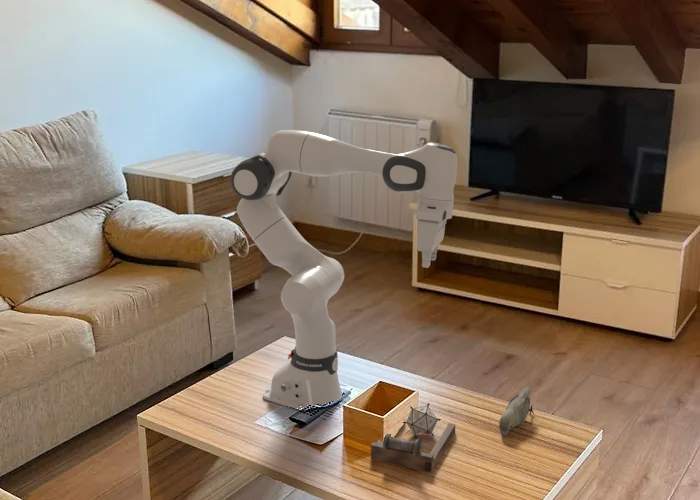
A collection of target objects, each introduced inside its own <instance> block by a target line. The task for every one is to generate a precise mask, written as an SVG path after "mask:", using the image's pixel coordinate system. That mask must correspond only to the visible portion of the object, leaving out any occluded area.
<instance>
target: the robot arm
mask: <svg viewBox="0 0 700 500" xmlns="http://www.w3.org/2000/svg"><path fill="white" fill-rule="evenodd" d="M293 173H297V174H302V175H307V176H310V177H311V176H312V177H335V176H338V175H344V174H352V173H353V174H354V173H362V174H363V173H364V174H370V175H375V176H380V177H382V180H383V181H384V184H385V185H386V186H387V188H389V189H390V190H392V191H394V192H398V193H408V192H417V193H418V195H417V196H418V197H417V207H416V214H415V219H416V220H418V221H417V230H416V231H417V234H416V235H417V236H416V237H417V240H416V246H417V251H419V252H421V261H422V262H421V267H422V268H424V269H425V268H426V269H428V268H430V266H431V261H432V262H433V261H436V259H437V252H438V250H439V245H440V243H442V242H443V240H444V238H445V231H446V224H447V220H451V219H452V218H453V210H454V203H455V202H454V201H455V196H454V195H455V194H454V188H455V185H456V183H457V175H458V155H457V152H456V151H455V149H454V148H452V147H451V146H449V145H446V144H443V143H440V142H439V143H438V142H432V141H431V142H428V143H426V144H424V145H423V146H421V147H418V148H416V149H413V150H410V151H405V152H402V153H393V152H388V151H387V152H386V151H381V150H380V151H379V150H375V149H368V148H363V147H361V146H360V147H359V146H357V145H353V144H351V143H348V142H345V141H342V140H339V139H337V138H335V137H332V136H328V135H325V134H322V133H321V134H320V133H317V132H311V131H308V130H297V129H295V130H294V129H281V130H278V131H275V132H274V133H273V134H272V135H271V136H270V138H269V140H268V143H267V149H266V151H265V152H260V153H257V154H254V155H252V156H251V157H249V158H246V159H244V160H241V162H240V163H238V164H237V165H236V166H235V167H234V168H233V169H232V172H231V175H230V184H231V187H232V190H233V192H234V193H235V194H236V195H237V196H238V197H239V198H240V200H239V202H238V204H237V205H236V214H237V216H238V218H239V220H240V222H241V225H242V226H243V228H244V229H245V231H246V232H247V234H248V235H249V237H250V238H251V239H252V241H253V242H254V243H255V245H256V246H257V247H258V249H259V250H260V251H261V253H262V254H263V255H264V256H265V258H266V259H267V261H268V263H271V264H272V265H274V266H276V267H280V268H282V269H283V270H285V271H286V272H287V273H289V274H290V275H291V277H289V278H288V280H287V281H286V282H285V284H284V286H283V287H282V289H281V292H280V300H281V303H282V306H283V308H284V309H285V310H286V311H287V312H288V313H289V314H290V316H291V319H292V322H293V326H294V327H293V328H294V333H295V334H294V336H295V337H294V338H295V346H294V348H293V349H292V350H291V351H290V353H289V354H288V355H287V360H289V361H287V363H285V364H284V365H282V366H280V368H278V369H277V370H276V371H275V373H274V374H273V375H272V378H271V383H270V384H268V386H267V387H266V388H265V389H264V391H263V399H264V400H266V401H269V402H272V403H274V404H278V405H281V406H284V407H287V406H288V407H287V408H290V407H293V408H298V409H301V408H303V407H305V406H307V405H316V404H325V403H329V402H332V401H336V400H337V399H339V398H340V397H341V396H342V394H343V392H342V388H341V385H340V381H339V374H338V368H339V367H338V366H339V358H338V349H337V346H336V345H337V343H336V342H337V341H336V324H335V321H333V319H331V317H330V315H329V310H328V303H329V300H330V298H331V297H333V296H334V295H336V294H337V292H338V291H339V290H340V289H341V286H342V285H343V282H344V279H345V271H344V268H343V266H342V264H341V263H340V262H339V261H338V260H336V259H335V258H332V257H329V256H327V255H324V254H323V253H322V252H320V251H319V250H318V249H317V248H315V247H314V246H313V245H311V243H309V242H308V241H307V240H306V239H305V238H304V237H303V236H302V234H301V233H300V232H299V231H298V229H296V227H295V226H294V225H293V223H292V222H291V220H289V218H288V217H287V215H286V214H285V213H284V212H283V210H282V209H281V208H280V206H279V205H278V203H277V199H276V198H277V196H280V195H281V194H282V193H283V191H284V189H285V187H286V186H287V185H288V182H289V181H290V180H291V177H292V175H293ZM290 359H291V360H290ZM300 406H302V407H300ZM293 408H292V409H293Z"/></svg>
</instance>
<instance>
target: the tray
mask: <svg viewBox="0 0 700 500" xmlns="http://www.w3.org/2000/svg"><path fill="white" fill-rule="evenodd" d="M455 434H456V424H455V423H448V424H447V425H446V427H445V429H444V430H443V432H442V433H441V434H440V436H439V438H438V440H437V441H436V443H435V444H434V446H433V448H432V449H431V451H430V452H429V453H428V452H423V451H421V450H422V448H423V439H430V435H431V434H424V433H419V434H418V436H417V437H418V439H417V438H416V439H415V441H413V440H407V439H404V438H403V439H401V438H396V437H395V438H393V437H391V434H388V433H387V434H386V435H385V437H384V441H380V440H379V439H378V440H377V442H374V441H373V442H372V443H371V444H370V460H372V461H377V462H380V463H386V464H391V465H396V466H399V467H404V468H408V469H413V470H417V471H418V470H419V471H424V472H428V473H433V471H434V469H435V468H436V466H437V464H438V462H439V460H440V459H441V458H442V456H443V454H444V453H445V451H446V450H447V447H448V446H449V444H450V443H451V441H452V439H453V438H454V436H455Z"/></svg>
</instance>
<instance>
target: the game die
mask: <svg viewBox="0 0 700 500" xmlns="http://www.w3.org/2000/svg"><path fill="white" fill-rule="evenodd" d="M429 406H430V402H427V404H426V405H424V406H420V407H415V408H413V406H411V405H410V406H409V407H410V410H411V411H410V412H409V415H408V417H407V419H406V420H405V422H403V423H404V425H405V424H406V425H407V426H408V428H409V429H410V431H411V432H412V433H413V435H414V438H413V439H414V440H417V437H418V434H419V433H424V434H429V435H431V436H433V437H434V433H433V432H434V429H435V427H436V425H437V423H438V422H440V421H441V420H442V419H441V418H437V416H436V415H435V413H434V412H433V411H432V410H431V408H430V407H429Z"/></svg>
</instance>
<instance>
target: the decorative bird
mask: <svg viewBox="0 0 700 500" xmlns="http://www.w3.org/2000/svg"><path fill="white" fill-rule="evenodd" d="M532 392H533V391H532V389H531V388H530V387H528V386H527V387H524V388H523V389H522V390H521V391H520V392H519V394H517V395H516V396H514V397H513V398H512V399H510V401H509V402H508V404H507V405H506V408H505V411H504V412H503V413H502V414H501V416H500V419H499V422H498V426H499V431H500V432H499V433H500V435H501V437H502V438H505V437H506V436H507V435H508V434H509V432H510V431H511V429H513V428H515V427H518V426H520V425H522V424H523V423H524V422H525V421H526V419H527V417H528V415H531V414H533V415H535V412H534V411H533V404H531V398H530V395H531V394H532Z"/></svg>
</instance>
